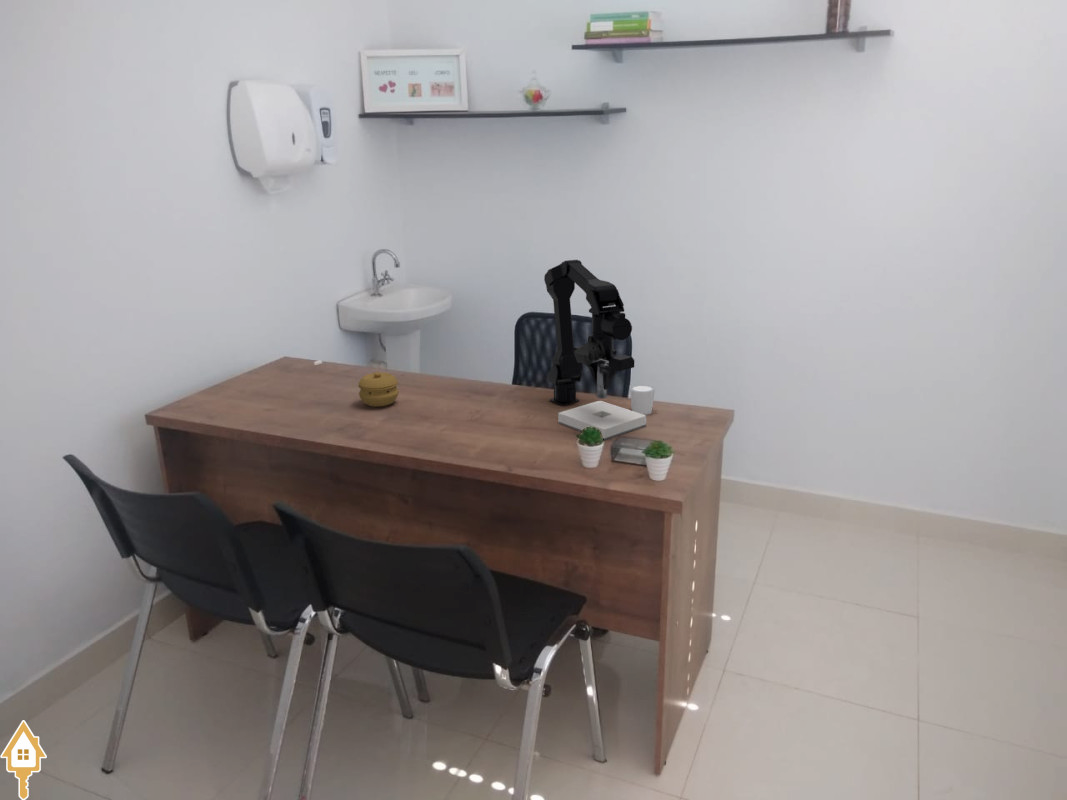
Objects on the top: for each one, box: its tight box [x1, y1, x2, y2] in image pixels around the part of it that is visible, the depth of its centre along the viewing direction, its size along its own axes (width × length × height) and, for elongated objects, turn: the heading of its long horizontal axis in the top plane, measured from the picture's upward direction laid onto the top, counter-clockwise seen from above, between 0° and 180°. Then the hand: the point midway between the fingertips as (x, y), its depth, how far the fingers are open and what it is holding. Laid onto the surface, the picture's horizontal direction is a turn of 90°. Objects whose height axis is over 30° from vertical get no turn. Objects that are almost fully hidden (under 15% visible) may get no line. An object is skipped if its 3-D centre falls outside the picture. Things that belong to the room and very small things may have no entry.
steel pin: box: [596, 363, 608, 399], centre depth 223 cm, size 3×3×9 cm
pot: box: [357, 371, 400, 408], centre depth 246 cm, size 12×12×10 cm
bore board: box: [557, 400, 647, 441], centre depth 226 cm, size 18×16×3 cm
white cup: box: [629, 384, 656, 416], centre depth 235 cm, size 7×7×7 cm
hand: (602, 388), depth 223 cm, fingers closed on steel pin, 3 cm apart
